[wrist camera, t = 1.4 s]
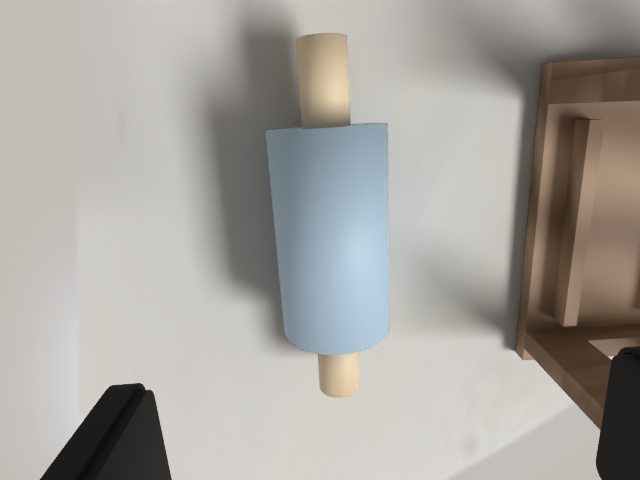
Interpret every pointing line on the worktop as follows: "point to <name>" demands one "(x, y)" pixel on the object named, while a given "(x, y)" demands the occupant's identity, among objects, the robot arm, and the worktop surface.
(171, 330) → the worktop surface
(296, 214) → the blue rolling pin
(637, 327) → the holder
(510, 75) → the worktop surface
